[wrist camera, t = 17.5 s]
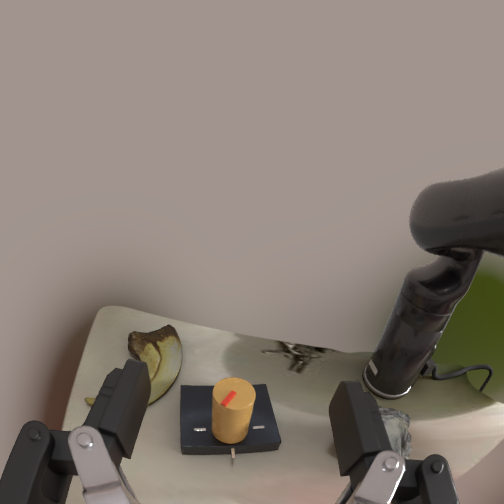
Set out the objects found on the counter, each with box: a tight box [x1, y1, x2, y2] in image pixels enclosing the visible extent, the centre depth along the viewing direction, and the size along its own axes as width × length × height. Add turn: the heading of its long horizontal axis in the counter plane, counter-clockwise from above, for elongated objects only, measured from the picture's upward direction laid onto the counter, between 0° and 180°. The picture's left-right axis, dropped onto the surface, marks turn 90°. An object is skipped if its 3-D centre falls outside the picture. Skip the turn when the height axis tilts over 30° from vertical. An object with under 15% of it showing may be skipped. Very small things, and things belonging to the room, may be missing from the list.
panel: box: [180, 384, 281, 459], centre depth 32 cm, size 12×12×3 cm
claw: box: [85, 325, 182, 405], centre depth 38 cm, size 20×10×3 cm, turn 171°
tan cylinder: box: [212, 377, 256, 444], centre depth 28 cm, size 4×4×8 cm
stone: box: [378, 406, 412, 459], centre depth 28 cm, size 10×10×10 cm
